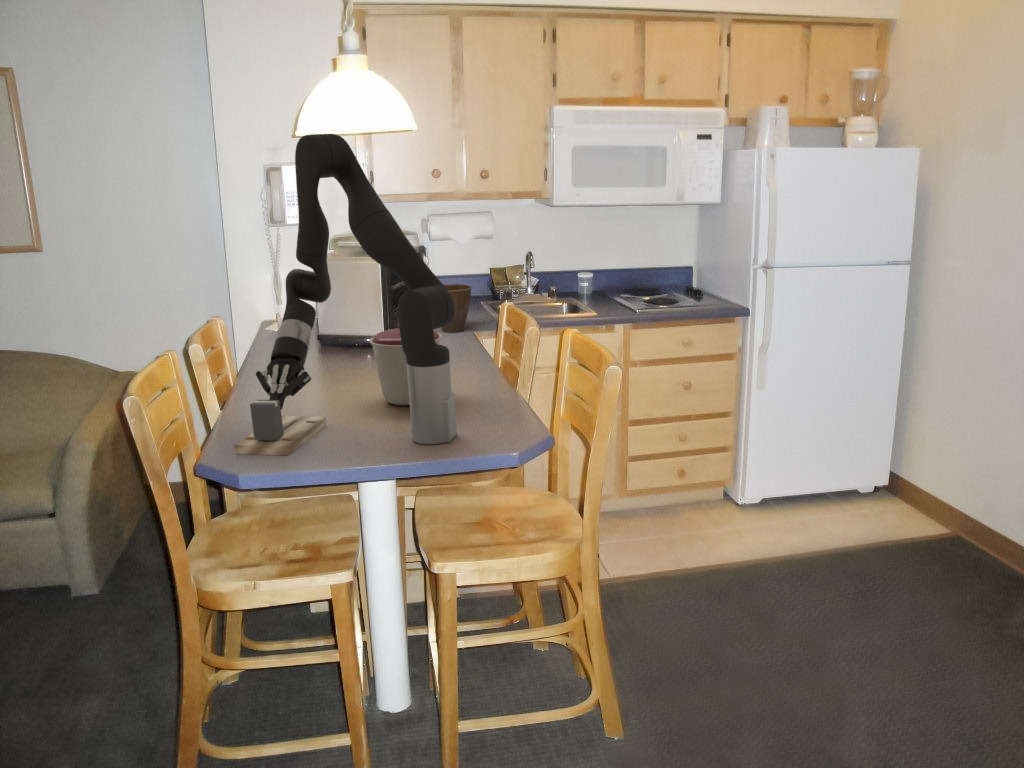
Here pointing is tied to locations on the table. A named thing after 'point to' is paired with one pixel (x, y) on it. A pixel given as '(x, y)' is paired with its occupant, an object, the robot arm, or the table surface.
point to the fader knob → (266, 419)
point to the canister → (393, 365)
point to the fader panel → (283, 437)
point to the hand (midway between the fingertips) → (274, 411)
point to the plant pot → (458, 306)
